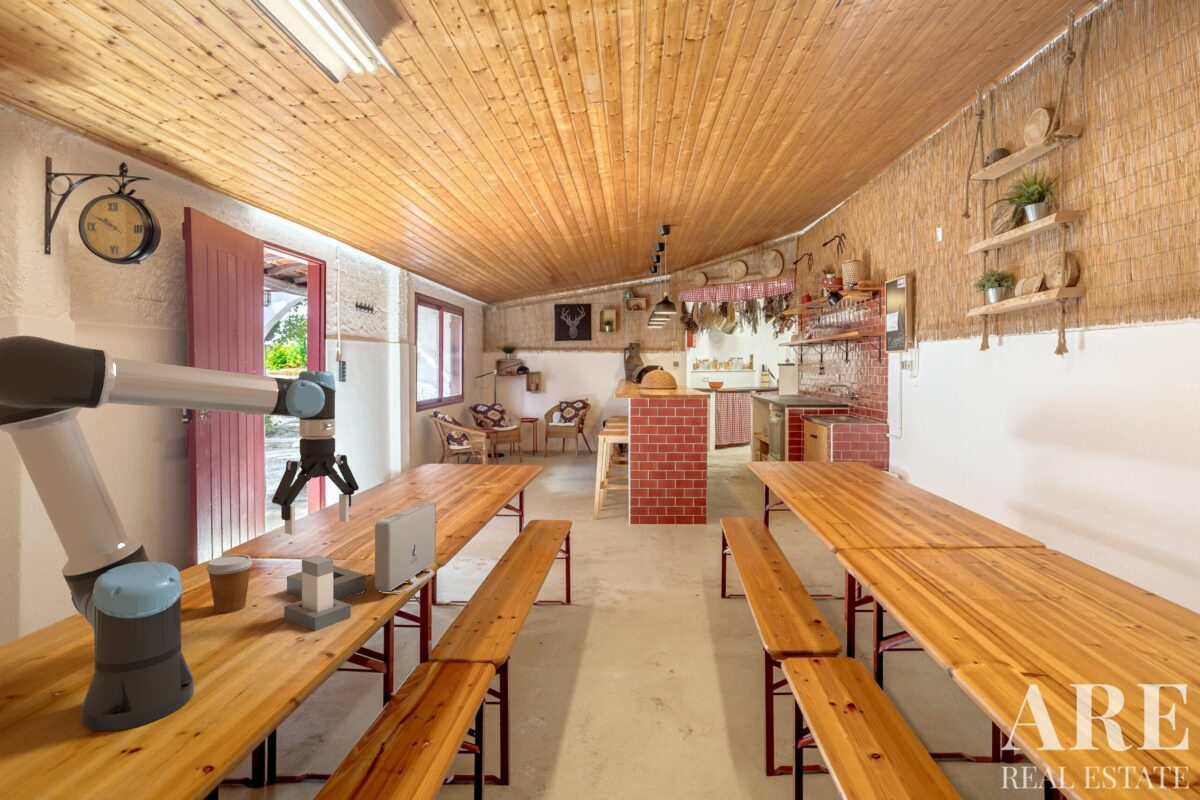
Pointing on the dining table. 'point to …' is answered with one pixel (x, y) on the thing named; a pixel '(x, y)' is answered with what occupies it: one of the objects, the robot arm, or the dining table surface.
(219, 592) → the disposable coffee cup
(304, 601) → the plug
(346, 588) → the port block
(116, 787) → the dining table surface
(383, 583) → the network device
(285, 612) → the holder
